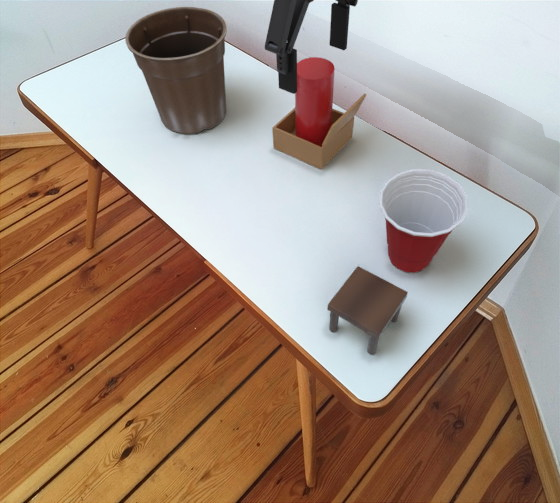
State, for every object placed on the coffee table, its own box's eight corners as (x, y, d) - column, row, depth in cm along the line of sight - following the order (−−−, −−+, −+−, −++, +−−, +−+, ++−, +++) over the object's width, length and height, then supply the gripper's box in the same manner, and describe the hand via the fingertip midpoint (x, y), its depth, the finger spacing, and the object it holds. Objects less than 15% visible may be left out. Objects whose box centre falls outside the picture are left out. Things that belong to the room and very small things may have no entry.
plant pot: (136, 139, 91) (109, 55, 79) (163, 86, 101) (143, 4, 88) (225, 146, 89) (213, 61, 77) (244, 91, 99) (235, 8, 86)
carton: (352, 137, 89) (354, 116, 86) (321, 170, 85) (322, 149, 81) (305, 118, 93) (305, 97, 90) (273, 148, 88) (272, 127, 85)
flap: (353, 113, 85) (355, 114, 85) (321, 145, 81) (323, 146, 81) (364, 93, 81) (366, 94, 81) (331, 125, 77) (333, 127, 77)
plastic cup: (353, 260, 73) (361, 201, 63) (398, 217, 78) (411, 156, 68) (419, 303, 68) (438, 246, 59) (462, 255, 73) (486, 195, 63)
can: (337, 138, 89) (342, 64, 78) (318, 157, 86) (320, 84, 75) (308, 125, 91) (309, 52, 80) (288, 144, 88) (286, 71, 77)
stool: (400, 317, 67) (408, 292, 62) (373, 358, 63) (379, 334, 59) (354, 292, 70) (357, 265, 65) (325, 329, 66) (327, 304, 61)
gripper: (345, -130, 69) (337, 24, 85) (226, -64, 56) (243, 101, 73) (396, -120, 66) (377, 37, 82) (281, -48, 54) (286, 119, 70)
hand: (314, 67), depth 78 cm, fingers open, 13 cm apart
